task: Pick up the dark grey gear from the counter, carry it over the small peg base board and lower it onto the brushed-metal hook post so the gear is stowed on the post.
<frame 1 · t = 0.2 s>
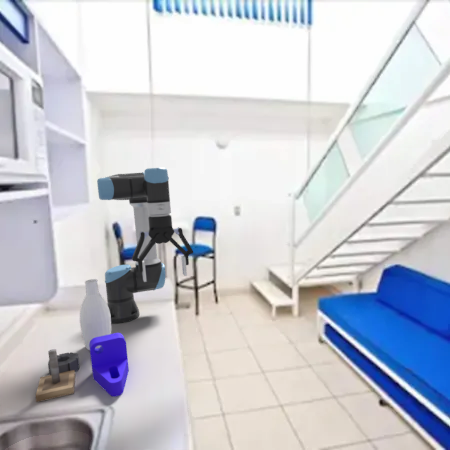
hand: (165, 277, 126), 28 cm above the worktop, fingers open, 13 cm apart
dark grey gear: (64, 370, 125), on the worktop
bottle: (98, 346, 143), on the worktop
peg base board: (57, 388, 114), on the worktop
bracket: (113, 382, 116), on the worktop
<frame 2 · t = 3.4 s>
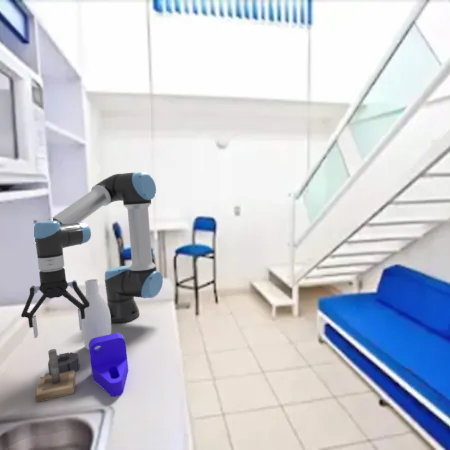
hand: (59, 332, 123), 13 cm above the worktop, fingers open, 13 cm apart
nothing on the worktop moved.
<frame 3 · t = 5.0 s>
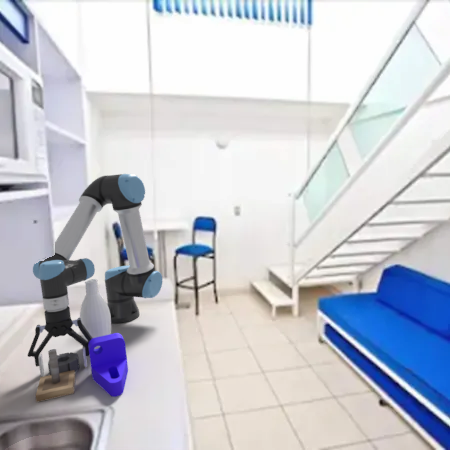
hand: (64, 369, 125), 0 cm above the worktop, fingers open, 13 cm apart
nothing on the worktop moved.
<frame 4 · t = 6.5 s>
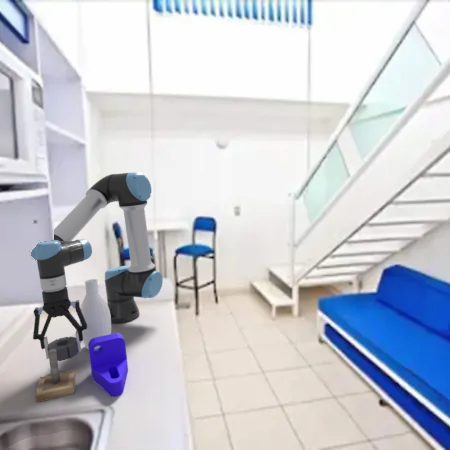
hand: (64, 353, 125), 6 cm above the worktop, fingers closed on dark grey gear, 9 cm apart
dark grey gear: (64, 354, 125), point 5 cm above the worktop, touching gripper
everything else where it was.
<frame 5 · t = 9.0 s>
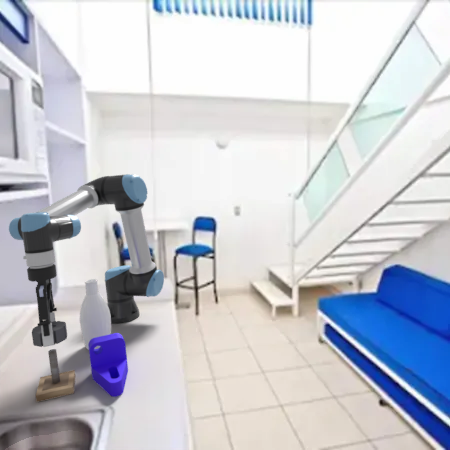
hand: (50, 339, 112), 16 cm above the worktop, fingers closed on dark grey gear, 9 cm apart
dark grey gear: (50, 339, 112), point 15 cm above the worktop, touching gripper
everything else where it was.
when the fingers open (6 cm above the worktop, at t = 11.5 s): dark grey gear drops 4 cm, resting on peg base board.
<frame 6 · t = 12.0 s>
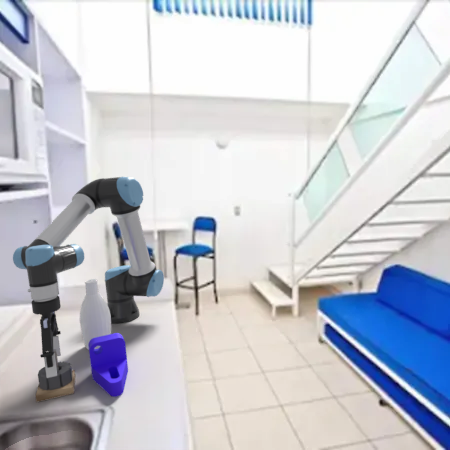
hand: (54, 365, 113), 7 cm above the worktop, fingers open, 13 cm apart
dark grey gear: (56, 381, 114), point 2 cm above the worktop, touching peg base board
everything else where it was.
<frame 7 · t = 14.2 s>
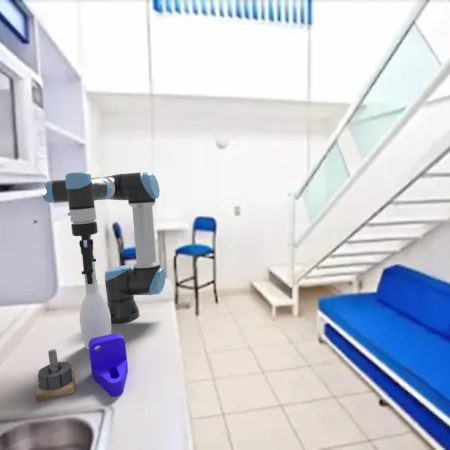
hand: (92, 287, 120), 28 cm above the worktop, fingers open, 13 cm apart
nothing on the worktop moved.
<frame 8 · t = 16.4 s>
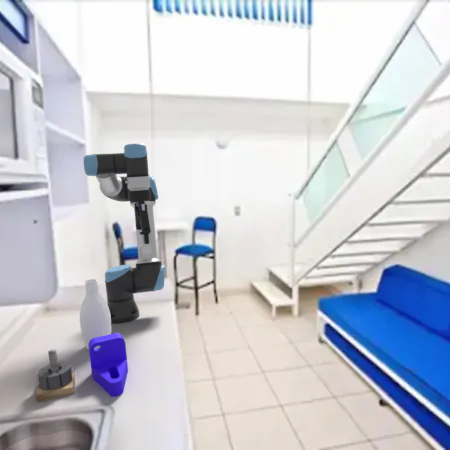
hand: (144, 250, 132), 37 cm above the worktop, fingers open, 13 cm apart
nothing on the worktop moved.
at the end: dark grey gear 0.0 cm from the target spot, point 2.1 cm above the worktop; the gripper is holding nothing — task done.
